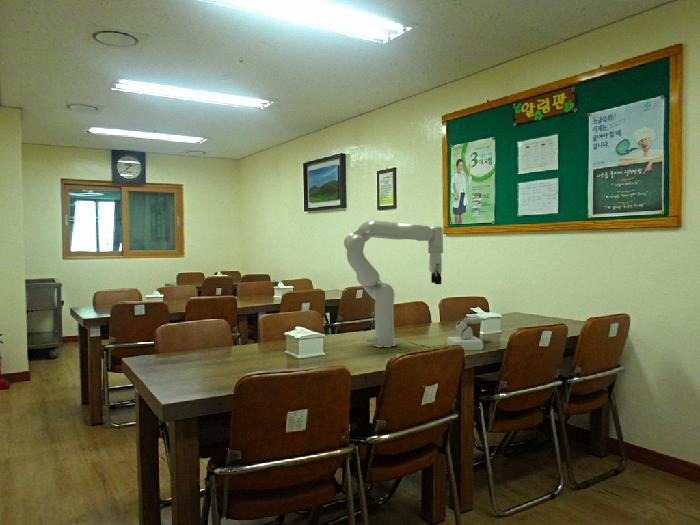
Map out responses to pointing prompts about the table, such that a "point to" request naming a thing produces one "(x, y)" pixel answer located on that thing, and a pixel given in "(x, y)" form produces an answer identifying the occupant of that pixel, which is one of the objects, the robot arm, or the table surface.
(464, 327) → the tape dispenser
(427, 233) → the robot arm
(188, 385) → the table surface
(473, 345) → the stand
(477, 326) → the disposable coffee cup
